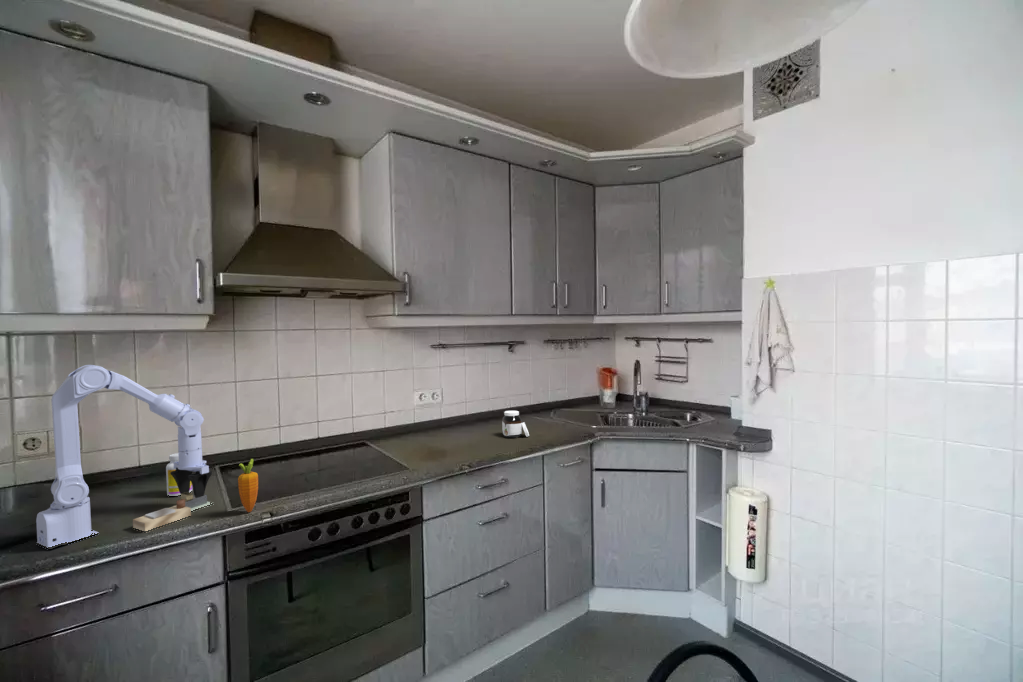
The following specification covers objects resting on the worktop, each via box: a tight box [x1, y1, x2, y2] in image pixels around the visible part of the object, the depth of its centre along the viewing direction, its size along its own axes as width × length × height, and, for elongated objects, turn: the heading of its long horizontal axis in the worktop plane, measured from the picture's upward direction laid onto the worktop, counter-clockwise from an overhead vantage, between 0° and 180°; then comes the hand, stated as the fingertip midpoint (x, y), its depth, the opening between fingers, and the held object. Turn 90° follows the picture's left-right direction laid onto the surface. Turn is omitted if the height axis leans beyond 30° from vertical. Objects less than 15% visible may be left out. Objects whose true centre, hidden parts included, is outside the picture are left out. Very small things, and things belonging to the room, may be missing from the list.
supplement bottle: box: [165, 452, 193, 497], centre depth 147 cm, size 7×7×13 cm
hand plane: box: [132, 498, 192, 531], centre depth 124 cm, size 11×6×4 cm, turn 153°
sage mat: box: [191, 500, 213, 512], centre depth 135 cm, size 8×8×1 cm
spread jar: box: [501, 410, 530, 439], centre depth 212 cm, size 12×11×12 cm
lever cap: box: [180, 492, 208, 508], centre depth 135 cm, size 6×4×4 cm, turn 154°
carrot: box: [237, 458, 259, 513], centre depth 129 cm, size 5×5×15 cm
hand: (192, 494), depth 135 cm, fingers open, 7 cm apart
